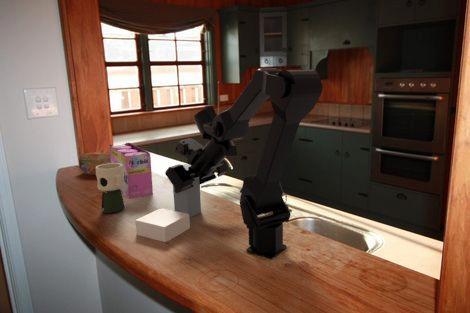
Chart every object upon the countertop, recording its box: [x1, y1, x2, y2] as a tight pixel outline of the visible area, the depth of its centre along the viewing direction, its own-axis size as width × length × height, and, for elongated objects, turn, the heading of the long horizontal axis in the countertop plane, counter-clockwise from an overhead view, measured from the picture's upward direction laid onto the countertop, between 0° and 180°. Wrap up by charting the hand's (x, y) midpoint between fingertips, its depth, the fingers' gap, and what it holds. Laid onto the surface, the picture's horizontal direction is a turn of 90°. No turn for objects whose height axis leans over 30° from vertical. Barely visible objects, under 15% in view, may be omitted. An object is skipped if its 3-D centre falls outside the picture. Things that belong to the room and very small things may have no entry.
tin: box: [78, 152, 111, 176], centre depth 146 cm, size 15×3×8 cm, turn 73°
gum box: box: [108, 142, 154, 199], centre depth 126 cm, size 24×8×14 cm, turn 31°
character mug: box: [95, 163, 126, 214], centre depth 105 cm, size 11×7×13 cm, turn 45°
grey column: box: [172, 163, 202, 219], centre depth 101 cm, size 5×5×13 cm
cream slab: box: [134, 208, 191, 243], centre depth 91 cm, size 9×9×4 cm
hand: (183, 189), depth 102 cm, fingers closed on grey column, 5 cm apart
